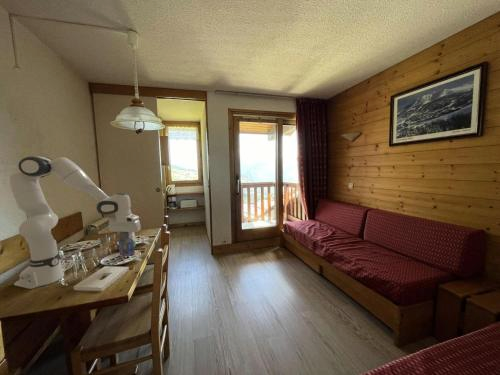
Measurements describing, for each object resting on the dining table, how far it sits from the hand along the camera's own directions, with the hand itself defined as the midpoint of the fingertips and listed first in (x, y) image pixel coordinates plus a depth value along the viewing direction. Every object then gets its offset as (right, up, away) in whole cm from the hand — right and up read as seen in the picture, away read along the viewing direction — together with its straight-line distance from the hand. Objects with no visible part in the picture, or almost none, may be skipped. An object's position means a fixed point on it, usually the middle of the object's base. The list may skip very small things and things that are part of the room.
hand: (125, 238), depth 140 cm
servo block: (0, -3, 0) cm, 3 cm away
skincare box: (-14, -15, +30) cm, 37 cm away
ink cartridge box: (-8, -17, +15) cm, 24 cm away
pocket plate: (-3, -20, -16) cm, 26 cm away
